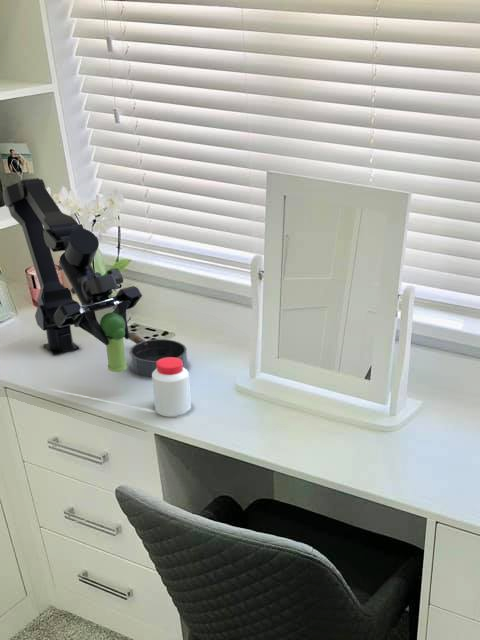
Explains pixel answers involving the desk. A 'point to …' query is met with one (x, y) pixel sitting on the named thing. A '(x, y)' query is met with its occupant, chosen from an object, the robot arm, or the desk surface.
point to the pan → (155, 355)
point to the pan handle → (136, 339)
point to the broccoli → (114, 341)
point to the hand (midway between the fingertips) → (117, 341)
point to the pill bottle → (171, 387)
